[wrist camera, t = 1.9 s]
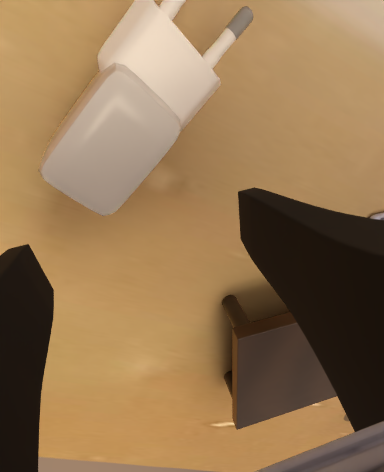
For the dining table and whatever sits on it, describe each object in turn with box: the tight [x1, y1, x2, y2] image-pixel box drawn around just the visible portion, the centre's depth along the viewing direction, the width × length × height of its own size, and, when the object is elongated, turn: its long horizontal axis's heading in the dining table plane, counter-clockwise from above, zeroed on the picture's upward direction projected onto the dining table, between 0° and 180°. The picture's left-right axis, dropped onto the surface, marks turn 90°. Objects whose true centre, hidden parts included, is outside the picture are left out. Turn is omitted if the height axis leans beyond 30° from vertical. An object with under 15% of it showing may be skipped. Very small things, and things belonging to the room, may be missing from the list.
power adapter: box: [38, 0, 253, 216], centre depth 14 cm, size 11×5×6 cm, turn 136°
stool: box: [222, 295, 337, 430], centre depth 30 cm, size 14×14×5 cm
